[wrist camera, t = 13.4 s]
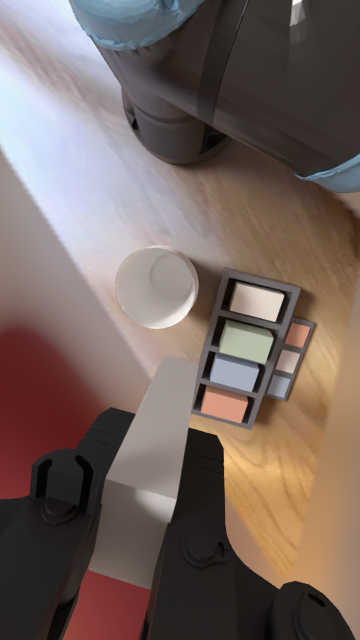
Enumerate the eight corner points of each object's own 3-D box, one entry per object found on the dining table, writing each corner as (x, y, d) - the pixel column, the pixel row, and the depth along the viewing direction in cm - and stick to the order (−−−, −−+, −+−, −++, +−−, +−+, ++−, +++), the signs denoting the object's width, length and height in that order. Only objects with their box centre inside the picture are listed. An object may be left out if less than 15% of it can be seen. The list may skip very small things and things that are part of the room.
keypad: (224, 267, 40) (224, 269, 37) (294, 284, 40) (301, 288, 36) (188, 399, 47) (186, 412, 43) (248, 416, 46) (251, 429, 43)
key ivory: (236, 280, 40) (237, 283, 36) (278, 290, 39) (284, 295, 36) (229, 304, 41) (230, 310, 37) (270, 315, 40) (275, 321, 37)
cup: (211, 256, 40) (208, 262, 29) (191, 314, 43) (181, 341, 31) (151, 235, 40) (125, 233, 29) (135, 294, 43) (104, 314, 32)
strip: (288, 315, 41) (290, 317, 40) (313, 321, 41) (315, 323, 40) (261, 393, 45) (262, 396, 44) (284, 399, 44) (285, 402, 44)
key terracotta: (207, 379, 44) (206, 391, 41) (245, 390, 44) (248, 402, 40) (202, 399, 45) (200, 412, 42) (239, 409, 45) (240, 423, 41)
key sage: (226, 319, 39) (226, 326, 36) (269, 330, 39) (273, 338, 36) (219, 342, 40) (219, 352, 37) (261, 353, 40) (265, 363, 37)
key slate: (216, 349, 43) (216, 358, 39) (256, 359, 42) (259, 369, 39) (210, 370, 44) (209, 381, 40) (249, 380, 43) (251, 392, 40)
